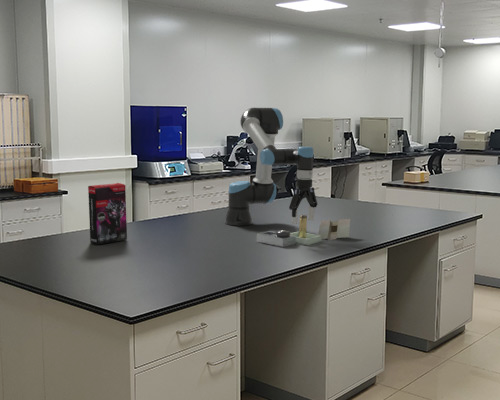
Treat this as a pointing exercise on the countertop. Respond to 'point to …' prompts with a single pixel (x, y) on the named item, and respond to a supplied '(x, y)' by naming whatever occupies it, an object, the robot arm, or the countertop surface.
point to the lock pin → (302, 226)
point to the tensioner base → (276, 238)
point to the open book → (334, 229)
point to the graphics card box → (107, 213)
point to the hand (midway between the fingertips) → (303, 221)
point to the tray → (307, 238)
